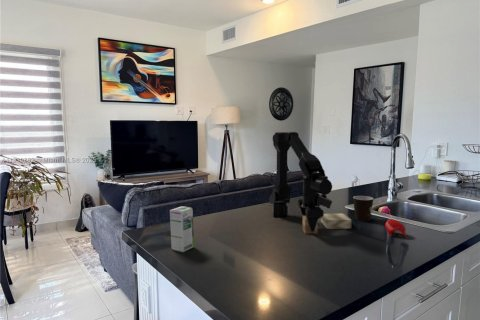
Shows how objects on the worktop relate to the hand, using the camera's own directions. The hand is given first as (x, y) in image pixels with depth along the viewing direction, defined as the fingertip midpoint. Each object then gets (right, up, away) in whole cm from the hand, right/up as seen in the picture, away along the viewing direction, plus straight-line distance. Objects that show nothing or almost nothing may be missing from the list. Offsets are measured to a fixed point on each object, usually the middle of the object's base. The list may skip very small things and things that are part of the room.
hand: (309, 227), depth 132 cm
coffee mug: (+29, 0, +17) cm, 33 cm away
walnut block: (0, -2, 0) cm, 2 cm away
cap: (+32, -2, -5) cm, 33 cm away
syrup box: (-49, -4, -17) cm, 52 cm away
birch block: (+13, -1, +8) cm, 15 cm away
